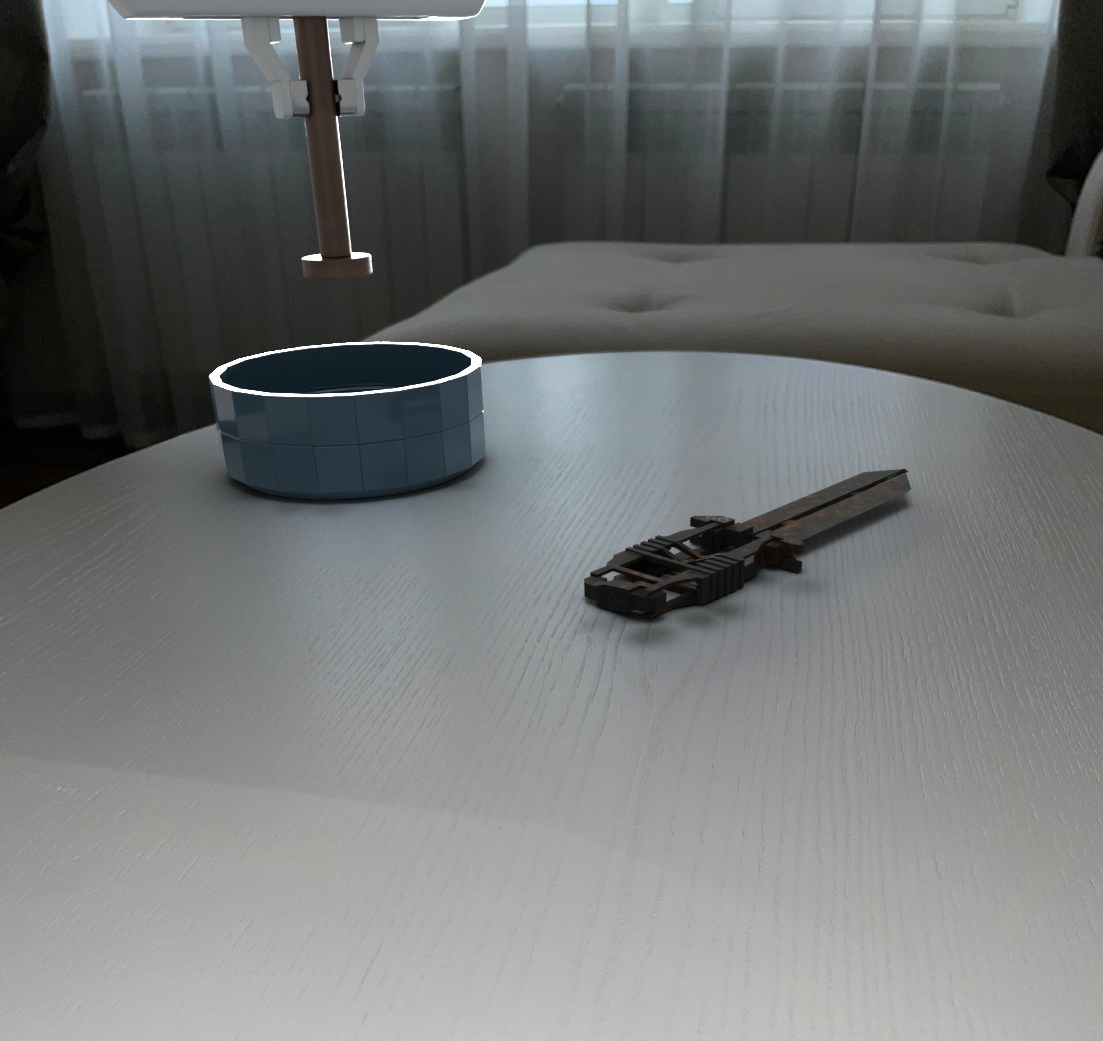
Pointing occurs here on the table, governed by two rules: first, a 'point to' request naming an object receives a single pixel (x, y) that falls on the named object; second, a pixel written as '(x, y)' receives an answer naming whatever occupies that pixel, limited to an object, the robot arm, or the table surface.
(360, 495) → the bowl
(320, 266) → the stirrer
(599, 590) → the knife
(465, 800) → the table surface
